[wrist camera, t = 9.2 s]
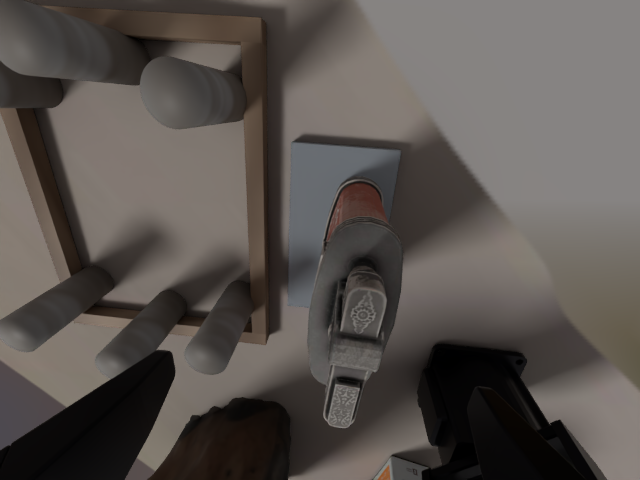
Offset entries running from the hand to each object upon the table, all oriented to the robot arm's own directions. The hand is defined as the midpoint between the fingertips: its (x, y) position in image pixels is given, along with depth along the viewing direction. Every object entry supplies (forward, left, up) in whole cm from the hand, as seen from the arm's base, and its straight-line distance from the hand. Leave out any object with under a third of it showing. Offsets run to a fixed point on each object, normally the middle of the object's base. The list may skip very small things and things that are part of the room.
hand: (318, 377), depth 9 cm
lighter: (-1, 0, -11) cm, 11 cm away
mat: (0, 0, -11) cm, 11 cm away
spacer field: (+12, -1, -11) cm, 16 cm away
